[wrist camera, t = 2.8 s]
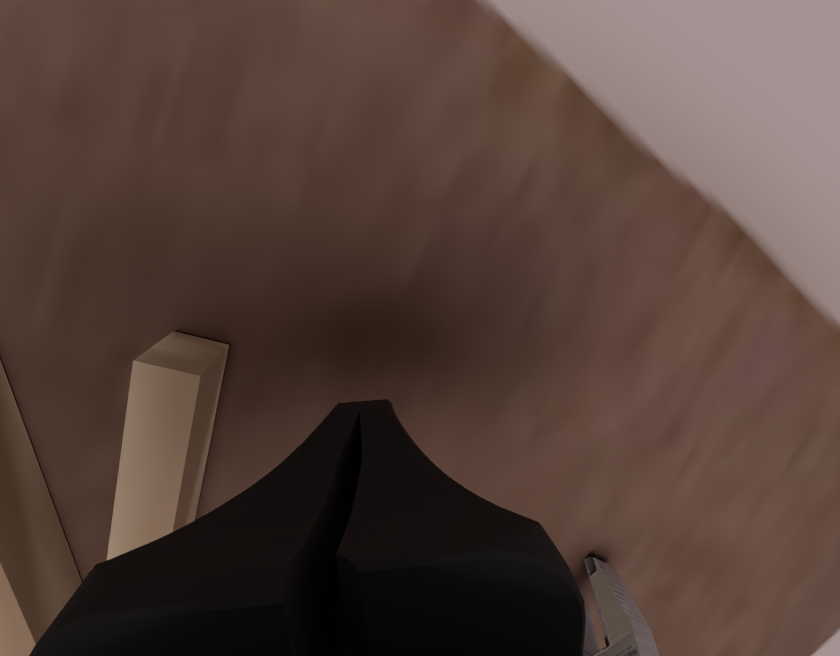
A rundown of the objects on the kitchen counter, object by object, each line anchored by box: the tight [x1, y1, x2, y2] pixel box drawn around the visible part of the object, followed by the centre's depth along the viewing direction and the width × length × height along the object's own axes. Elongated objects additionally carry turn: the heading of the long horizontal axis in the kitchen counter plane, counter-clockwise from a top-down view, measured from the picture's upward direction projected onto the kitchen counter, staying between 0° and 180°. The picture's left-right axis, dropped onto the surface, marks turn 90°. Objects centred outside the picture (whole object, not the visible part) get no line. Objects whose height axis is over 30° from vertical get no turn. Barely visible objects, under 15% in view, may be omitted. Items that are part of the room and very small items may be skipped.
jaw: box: [107, 331, 229, 560], centre depth 15 cm, size 2×14×2 cm, turn 163°
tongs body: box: [0, 360, 82, 656], centre depth 16 cm, size 4×18×2 cm, turn 3°
